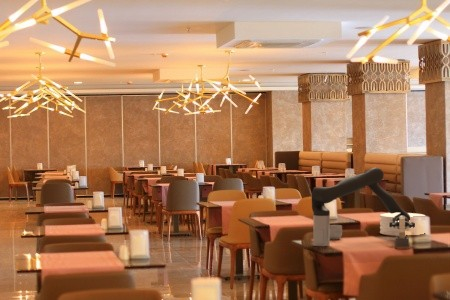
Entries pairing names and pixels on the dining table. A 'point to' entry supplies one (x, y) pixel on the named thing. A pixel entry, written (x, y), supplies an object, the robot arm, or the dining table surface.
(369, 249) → the dining table surface
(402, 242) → the dark grey block
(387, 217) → the plate stack
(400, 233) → the slat
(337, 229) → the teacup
